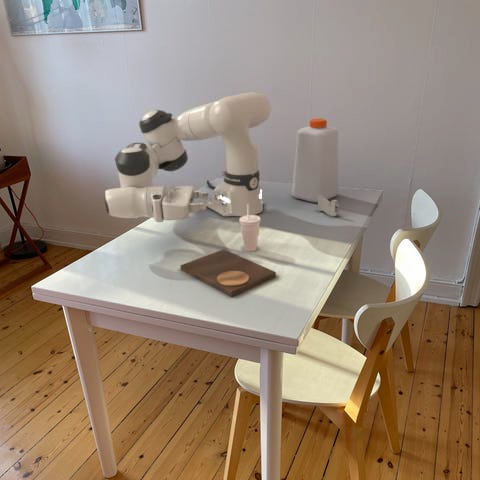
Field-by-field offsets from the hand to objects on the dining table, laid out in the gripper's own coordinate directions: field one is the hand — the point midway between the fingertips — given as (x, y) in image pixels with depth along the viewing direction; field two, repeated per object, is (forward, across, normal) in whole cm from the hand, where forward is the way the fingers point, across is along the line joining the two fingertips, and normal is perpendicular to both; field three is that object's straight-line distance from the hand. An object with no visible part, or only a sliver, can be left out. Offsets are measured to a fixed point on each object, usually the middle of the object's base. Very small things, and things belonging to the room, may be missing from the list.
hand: (207, 200), depth 144 cm
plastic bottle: (+37, -50, -16) cm, 64 cm away
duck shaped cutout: (+40, -29, -16) cm, 52 cm away
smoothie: (+12, 0, -16) cm, 20 cm away
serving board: (+6, +17, -15) cm, 23 cm away
